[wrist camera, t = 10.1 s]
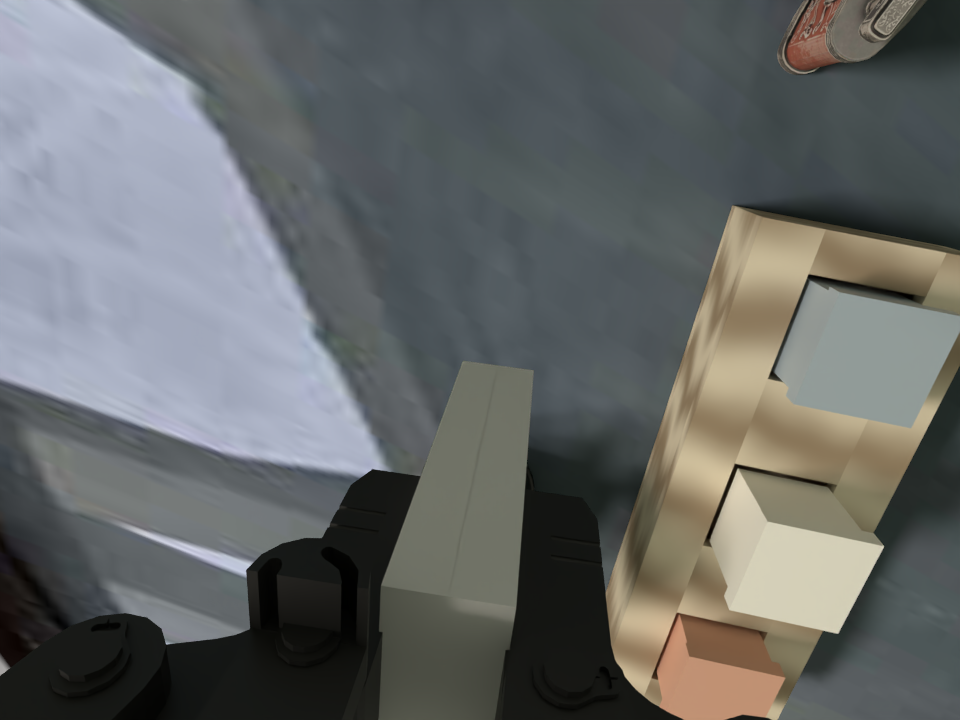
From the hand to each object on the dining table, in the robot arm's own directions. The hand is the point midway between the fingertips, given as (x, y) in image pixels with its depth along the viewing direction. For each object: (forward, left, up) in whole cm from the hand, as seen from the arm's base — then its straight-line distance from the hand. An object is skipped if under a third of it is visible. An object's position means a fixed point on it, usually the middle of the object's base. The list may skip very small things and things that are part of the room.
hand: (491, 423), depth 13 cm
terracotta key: (+28, +20, -27) cm, 44 cm away
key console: (+15, +20, -31) cm, 40 cm away
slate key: (+2, +20, -27) cm, 34 cm away
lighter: (-16, +15, -31) cm, 38 cm away
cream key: (+15, +20, -25) cm, 35 cm away
